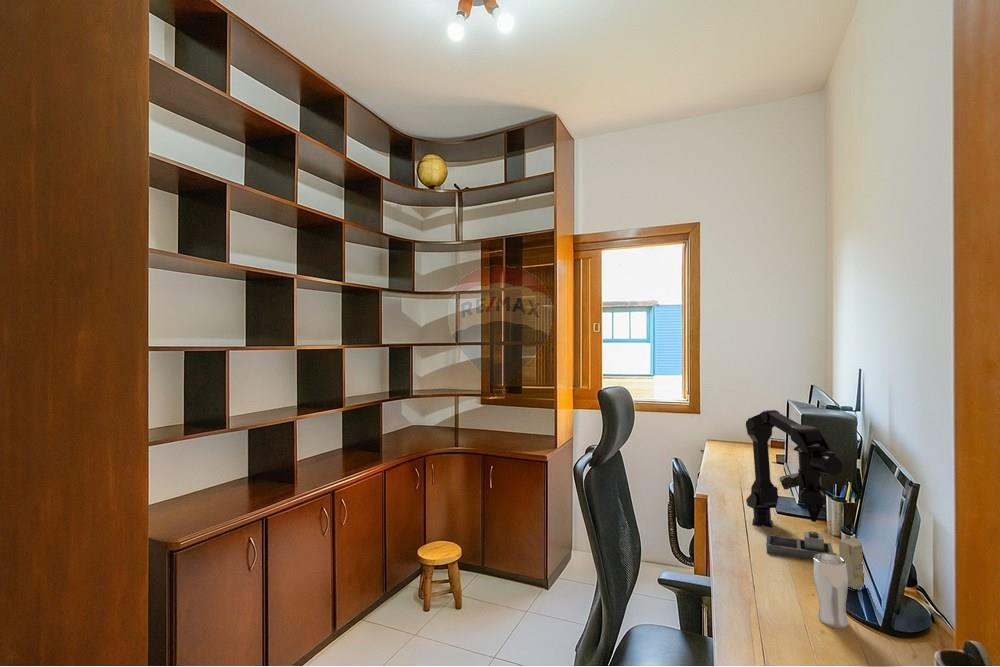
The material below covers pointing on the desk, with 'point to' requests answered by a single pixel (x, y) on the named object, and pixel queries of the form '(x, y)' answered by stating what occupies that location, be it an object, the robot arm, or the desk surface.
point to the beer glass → (831, 589)
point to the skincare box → (853, 561)
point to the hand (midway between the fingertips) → (812, 516)
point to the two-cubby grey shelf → (793, 551)
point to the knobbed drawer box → (814, 541)
